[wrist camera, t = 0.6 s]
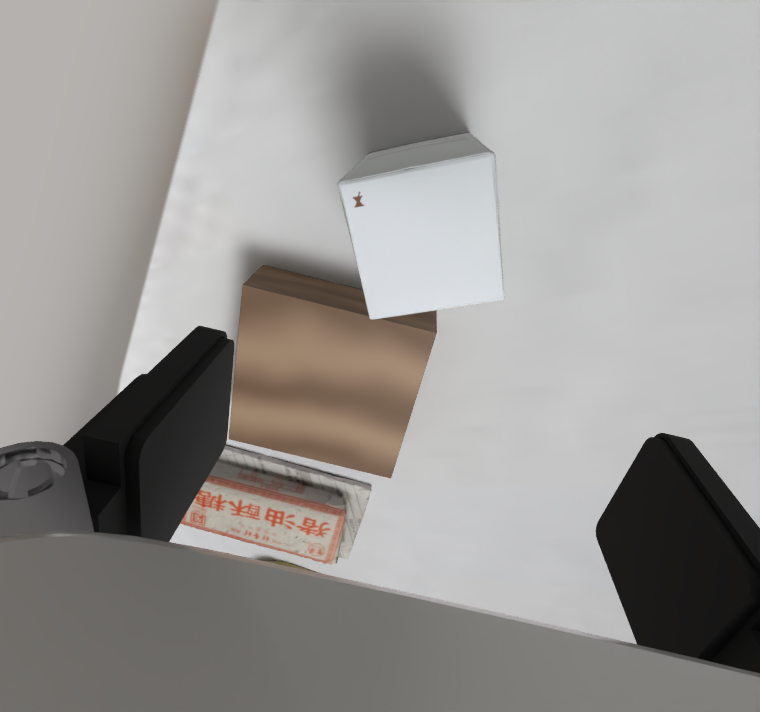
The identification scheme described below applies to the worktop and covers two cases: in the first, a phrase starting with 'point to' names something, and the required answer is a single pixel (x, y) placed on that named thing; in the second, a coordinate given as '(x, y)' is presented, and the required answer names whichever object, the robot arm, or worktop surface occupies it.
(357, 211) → the supplement box
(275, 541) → the packaged product
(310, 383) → the walnut block
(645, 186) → the worktop surface
